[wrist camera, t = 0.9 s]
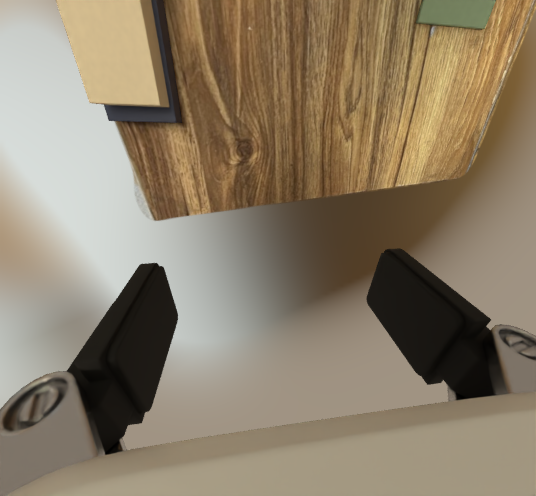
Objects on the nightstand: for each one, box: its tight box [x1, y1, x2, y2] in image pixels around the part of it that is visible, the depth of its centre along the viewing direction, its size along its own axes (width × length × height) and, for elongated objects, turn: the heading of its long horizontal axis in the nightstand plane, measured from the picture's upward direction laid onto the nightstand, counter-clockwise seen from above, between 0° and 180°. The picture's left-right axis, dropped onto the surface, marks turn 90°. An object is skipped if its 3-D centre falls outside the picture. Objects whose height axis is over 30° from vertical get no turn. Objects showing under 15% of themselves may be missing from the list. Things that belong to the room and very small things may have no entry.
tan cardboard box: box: [56, 0, 169, 107], centre depth 20 cm, size 11×6×4 cm, turn 178°
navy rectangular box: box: [104, 0, 182, 123], centre depth 22 cm, size 14×7×3 cm, turn 178°
